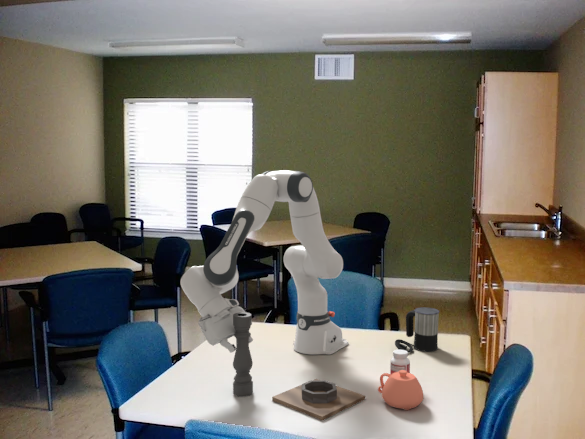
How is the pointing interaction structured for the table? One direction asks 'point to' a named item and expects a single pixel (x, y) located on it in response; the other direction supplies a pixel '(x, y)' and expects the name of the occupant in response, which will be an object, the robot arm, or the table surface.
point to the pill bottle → (399, 361)
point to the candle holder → (242, 355)
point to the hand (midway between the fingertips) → (242, 346)
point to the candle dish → (318, 408)
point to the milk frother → (421, 330)
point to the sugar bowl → (401, 390)
